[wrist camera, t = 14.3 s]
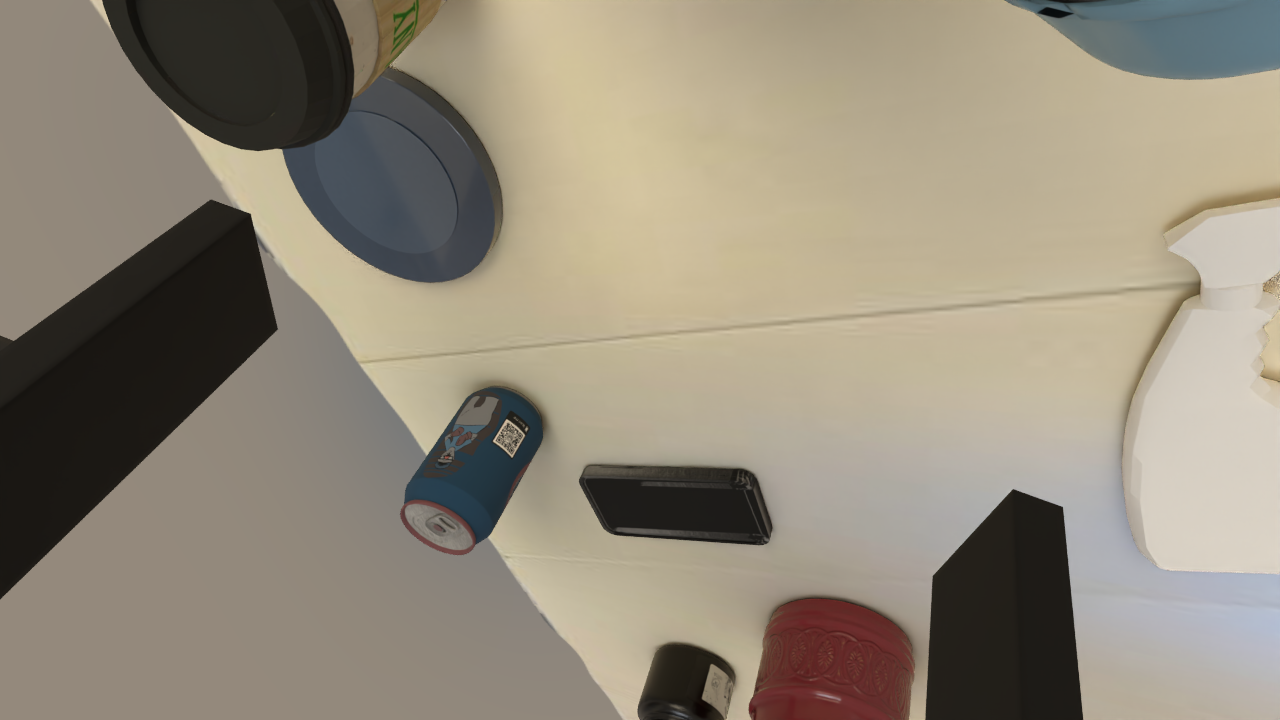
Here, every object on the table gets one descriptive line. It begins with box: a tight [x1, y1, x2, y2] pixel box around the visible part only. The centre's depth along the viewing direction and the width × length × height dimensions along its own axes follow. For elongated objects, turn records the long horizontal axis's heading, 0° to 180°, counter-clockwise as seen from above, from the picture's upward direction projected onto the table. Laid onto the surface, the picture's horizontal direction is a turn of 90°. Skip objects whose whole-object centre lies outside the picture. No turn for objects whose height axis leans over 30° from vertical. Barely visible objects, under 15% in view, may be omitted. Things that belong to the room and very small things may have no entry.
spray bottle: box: [1121, 198, 1280, 574], centre depth 40 cm, size 3×11×24 cm
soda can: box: [400, 386, 543, 555], centre depth 58 cm, size 7×7×12 cm
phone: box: [579, 466, 772, 545], centre depth 62 cm, size 8×1×15 cm
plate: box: [282, 67, 502, 283], centre depth 49 cm, size 15×15×1 cm
